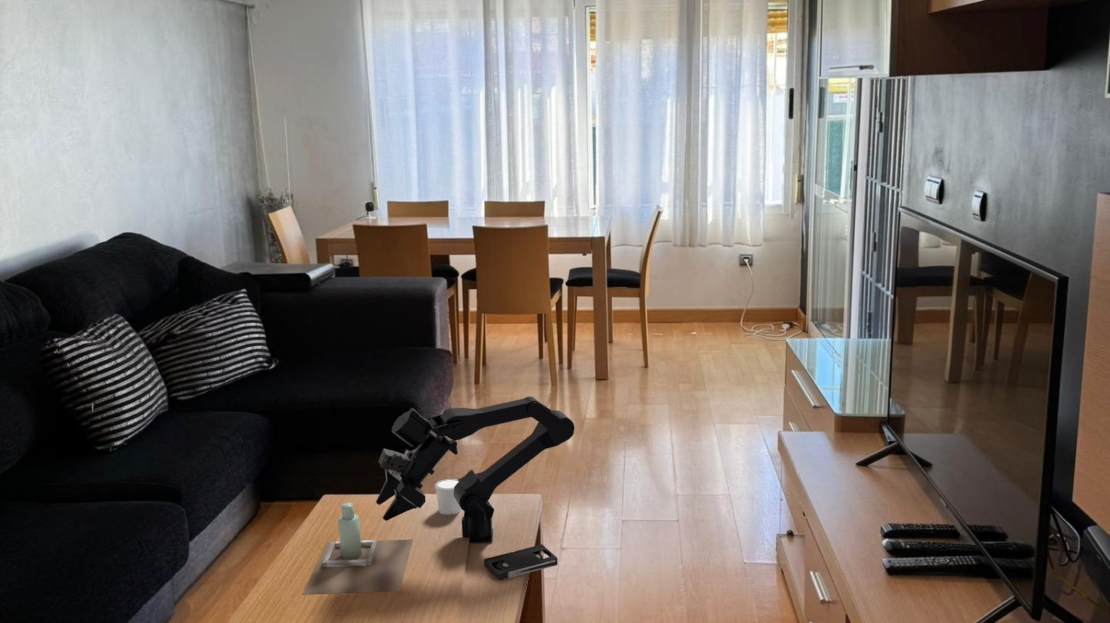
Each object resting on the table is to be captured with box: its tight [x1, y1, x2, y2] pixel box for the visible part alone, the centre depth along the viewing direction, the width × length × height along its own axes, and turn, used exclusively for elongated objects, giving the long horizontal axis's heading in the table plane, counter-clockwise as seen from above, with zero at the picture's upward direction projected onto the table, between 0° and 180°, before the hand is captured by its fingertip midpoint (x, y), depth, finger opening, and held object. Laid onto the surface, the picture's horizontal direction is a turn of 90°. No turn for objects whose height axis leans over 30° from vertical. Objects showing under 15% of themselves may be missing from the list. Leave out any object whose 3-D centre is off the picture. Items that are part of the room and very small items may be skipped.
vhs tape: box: [483, 544, 559, 581], centre depth 216 cm, size 14×8×2 cm, turn 117°
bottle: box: [337, 502, 362, 560], centre depth 219 cm, size 5×5×12 cm
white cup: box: [434, 478, 463, 516], centre depth 245 cm, size 7×7×7 cm
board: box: [301, 538, 414, 596], centre depth 216 cm, size 20×24×2 cm
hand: (380, 511), depth 221 cm, fingers open, 9 cm apart
